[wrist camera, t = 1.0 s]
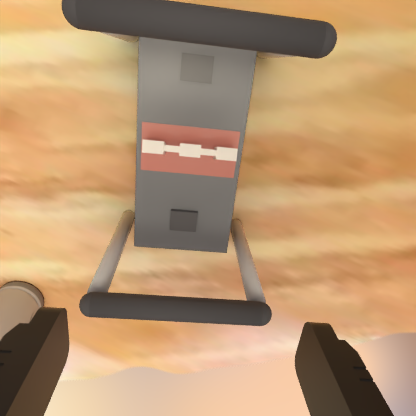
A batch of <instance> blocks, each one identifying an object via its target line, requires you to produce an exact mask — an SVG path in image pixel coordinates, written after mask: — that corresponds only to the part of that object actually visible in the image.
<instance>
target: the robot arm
mask: <svg viewBox="0 0 416 416" xmlns="http://www.w3.org/2000/svg"><path fill="white" fill-rule="evenodd" d="M68 352H69V333H68V321H67V311H66V309H65V308H51V307H40V308H39V309H38V310H37V312H36V313H35V315H34V317H33V318H32V320H31V321H30V323H19V324H18V325H16V326H15V327H14V328H13V329H11V330H10V331H9V332H7V333H6V334H5V335H4V336H3V337H2V339H1V340H0V416H44V413H45V411H46V409H47V406H48V404H49V402H50V399H51V397H52V394H53V392H54V390H55V387H56V385H57V383H58V380H59V378H60V375H61V373H62V371H63V368H64V366H65V363H66V360H67V357H68ZM295 369H296V373H297V377H298V379H299V383H300V386H301V389H302V392H303V394H304V398H305V401H306V404H307V407H308V409H309V412H310V415H311V416H394V415H393V413H392V412H391V410H390V408H389V407H388V405H387V403H386V401H385V399H384V398H383V396H382V394H381V392H380V391H379V389H378V387H377V385H376V384H375V382H373V378H372V377H371V375H370V373H369V372H368V370H366V366H365V365H364V363H363V361H362V359H361V357H360V356H359V354H358V352H357V351H356V350H354V349H353V348H352V347H351V346H350V345H349V344H348V343H347V342H346V341H345V340H338V338H337V336H336V334H335V332H334V330H333V328H332V327H331V325H330V324H328V323H313V322H306V323H305V325H304V327H303V331H302V334H301V337H300V341H299V344H298V348H297V351H296V355H295Z"/></svg>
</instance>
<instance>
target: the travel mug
mask: <svg viewBox="0 0 416 416" xmlns="http://www.w3.org/2000/svg"><path fill="white" fill-rule="evenodd" d="M43 305H44V299H43V296H42V294H41V293H40V292H39V290H38V289H36V288H35V287H34V286H32V285H30V284H28V283H25V282H10V283H7V284H5V285H3V286H2V287H1V288H0V340H1V339H2V337H3V336H4V335H5V334H6V333H7V332H9V331H10V330H11V329H13V328H14V327H15V326H16V325H18V324H19V323H30V321H31V320H32V318H33V317H34V315H35V313H36V312H37V310H38V309H39V308H40V307H43Z"/></svg>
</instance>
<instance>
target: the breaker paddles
mask: <svg viewBox="0 0 416 416" xmlns="http://www.w3.org/2000/svg"><path fill="white" fill-rule="evenodd" d="M165 151H166V152H176V153H179V156H185V157H196V158H200V155H208V156H213V159H217V160H227V161H237V151H238V149H236V148H226V147H214V150H212V149H202V148H201V145H195V144H185V143H180V146H171V145H166V143H165V142H164V141H154V140H144V139H143V140H142V152H143V153H153V154H164V155H165Z"/></svg>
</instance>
